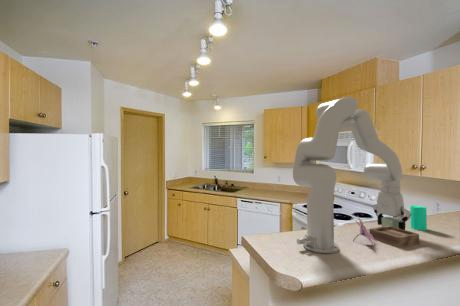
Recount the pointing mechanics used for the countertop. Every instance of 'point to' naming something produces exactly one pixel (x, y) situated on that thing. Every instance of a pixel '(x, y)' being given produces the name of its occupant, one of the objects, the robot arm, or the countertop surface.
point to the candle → (418, 217)
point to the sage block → (390, 222)
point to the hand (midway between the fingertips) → (390, 227)
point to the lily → (364, 232)
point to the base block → (394, 236)
